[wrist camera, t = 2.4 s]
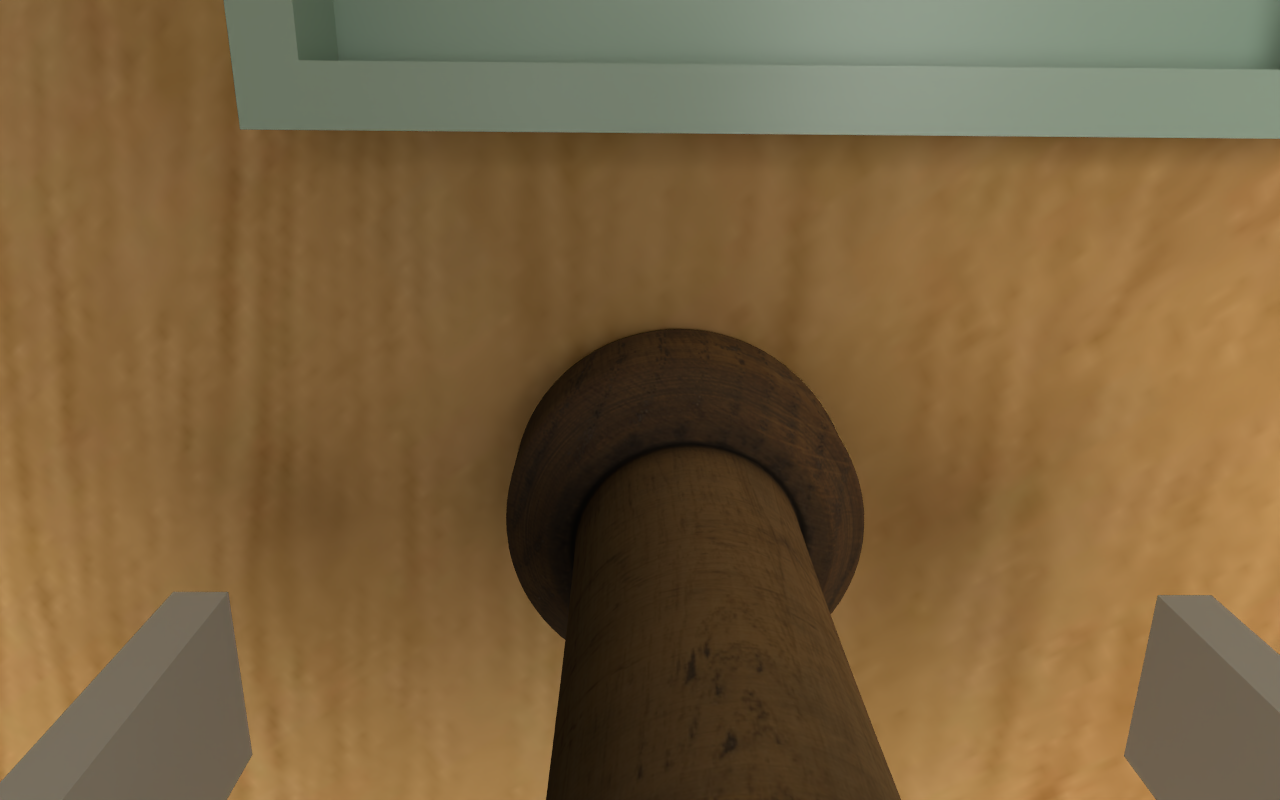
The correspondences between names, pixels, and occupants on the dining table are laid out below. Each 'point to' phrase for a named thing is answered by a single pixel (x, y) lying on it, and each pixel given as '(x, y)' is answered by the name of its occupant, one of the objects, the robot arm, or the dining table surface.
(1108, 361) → the dining table surface
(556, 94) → the tray
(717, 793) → the wooden pepper mill
